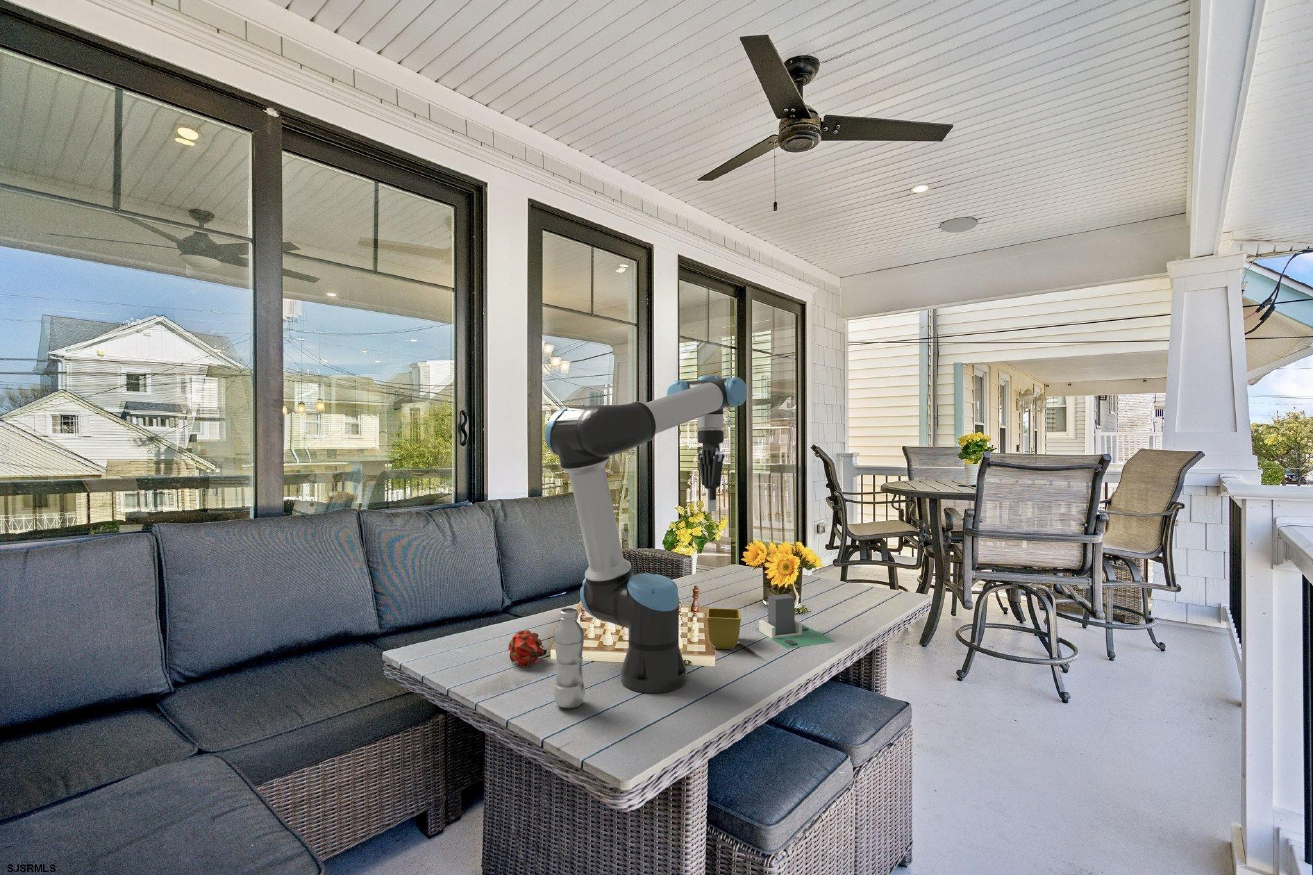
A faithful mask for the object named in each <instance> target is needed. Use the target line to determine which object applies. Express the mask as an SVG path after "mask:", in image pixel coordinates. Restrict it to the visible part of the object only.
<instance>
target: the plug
mask: <svg viewBox="0 0 1313 875" xmlns="http://www.w3.org/2000/svg"><path fill="white" fill-rule="evenodd" d="M795 612H796V611H795V596H792V595H790V594H787V593H784V594H774V595H767V623H769V624H770V625H772V626H774V627H775V636H777V635H784V634H791V633H795V620H796V619H795V615H796V614H795Z"/></svg>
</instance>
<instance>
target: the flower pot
mask: <svg viewBox="0 0 1313 875" xmlns="http://www.w3.org/2000/svg"><path fill="white" fill-rule="evenodd" d="M706 614H707V615H706V619H707V631H708V637H709V641H710V643H711V645H712V644H713V645H714V646H715V648H714V649H715V650H716V649H718V650H733V649H735V646H736V645H737V643H738V640H739V638H740V629H741V622H742V621H741V620H742V617H741V610H740V609H738V608H721V607H720V608H719V607H716V608H715V607H714V608H713V607H712V608H711V607H708V608H707V613H706Z"/></svg>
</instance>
